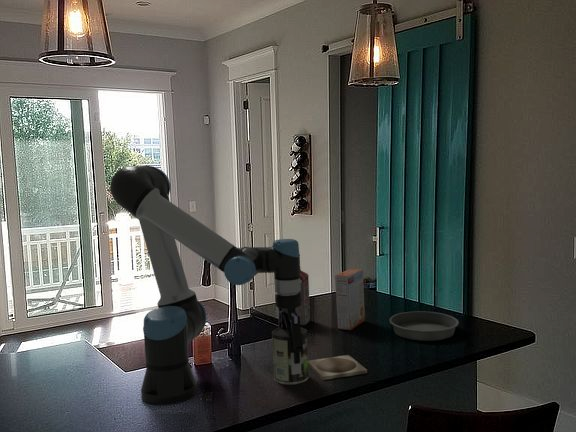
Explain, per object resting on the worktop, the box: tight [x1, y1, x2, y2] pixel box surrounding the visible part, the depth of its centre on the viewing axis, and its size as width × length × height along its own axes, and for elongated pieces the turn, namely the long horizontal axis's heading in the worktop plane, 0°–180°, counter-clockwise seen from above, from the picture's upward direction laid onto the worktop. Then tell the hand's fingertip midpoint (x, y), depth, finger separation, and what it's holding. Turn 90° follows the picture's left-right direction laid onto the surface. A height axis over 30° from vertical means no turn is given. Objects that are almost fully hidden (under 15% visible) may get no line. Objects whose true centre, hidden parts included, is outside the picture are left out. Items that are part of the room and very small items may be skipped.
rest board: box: [308, 354, 368, 381], centre depth 167 cm, size 14×14×1 cm
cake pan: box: [389, 310, 460, 342], centre depth 200 cm, size 25×25×4 cm
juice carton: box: [295, 268, 311, 326], centre depth 217 cm, size 7×7×22 cm
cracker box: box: [334, 268, 366, 331], centre depth 210 cm, size 14×6×21 cm, turn 149°
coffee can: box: [271, 327, 310, 386], centre depth 160 cm, size 10×10×14 cm
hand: (290, 367), depth 161 cm, fingers closed on coffee can, 10 cm apart
